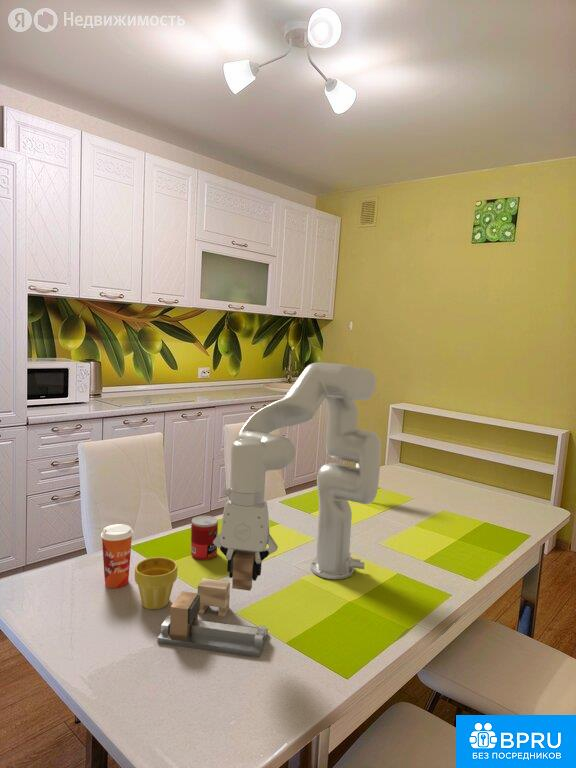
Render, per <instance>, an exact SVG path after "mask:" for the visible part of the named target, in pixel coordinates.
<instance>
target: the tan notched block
mask: <svg viewBox="0 0 576 768" xmlns="http://www.w3.org/2000/svg"><path fill="white" fill-rule="evenodd" d="M230 591H231V580H225V579H217V578H216V579H215V578H210V577H205V578H204V577H203V578H201V580H200V582H199V583H198V585H197V593H198V595H200V611H199V612H198V614H204V613H206V610H207V609H208V608H209V607H215V608H218V616H219V617H226V615H227V613H228V611H229V609H230V599H231V598H230V597H231V596H230V595H231V594H230V593H231V592H230Z"/></svg>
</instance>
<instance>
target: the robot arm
mask: <svg viewBox="0 0 576 768" xmlns="http://www.w3.org/2000/svg"><path fill="white" fill-rule="evenodd" d="M376 389H377V378H376V375H375V374H374V372H373V371H372V370H371V369H368V368H363V367H358V366H353V365H348V364H343V363H332V362H322V361H321V362H313V363H310V364H308V365H306V367H305V368H304V370H303V371H302V372H300V375H299V376H298V378H297V379H296V381H295V382H294V383H293V385H292V386H291V387H290V389H289V390H288V391H287V393H286V394H285V396H284V397H282V398H280V399H279V400H276V401H274V402H272V403H270V404H268V405H266V406H265V407H262V408H261V409H259V410H258V411H256V412H255V413H254V414H252V415H251V416H250V417H249V418H248V419H247V421H246V422H245V423H244V424H243V426H242V428H241V429H240V431H238V434H237V435H236V437H235V440H234V441H233V443H232V445H231V448H230V449H231V450H230V451H231V453H230V480H229V483H230V484H229V488H223V496H226V497H227V498H228V499H227V500H226V501H225V505H224V508H223V514H222V521H221V529H220V532H219V533H218V536H217V537H216V538H215V539H214V541H213V544H214V545H216V546H217V549H219V550H220V551H221V553H222V554H223V555H224V556H225V559H226V560H227V563H226V564H227V567H226V569H227V570H226V572H228V576H229V577H228V578H231V579H233V573H231V556H232V555H233V553H234V552H235V550H242V551H251V552H254V556H255V562H254V564H253V577H252V582H253V581H254V582H256V581H257V580H258V579H257V578H258V577H260V576H261V573H262V563H263V561H264V560H265V559H266V558H267V557H268V556H269V555H272V554H273V553H275V552H277V550H278V547H279V546H278V544H277V543H276V541H275V540H274V538H273V537H272V535H271V533H270V518H269V517H270V516H269V508H268V503H267V501H265V493H266V492H265V489H266V488H265V487H266V485H265V484H266V473H267V472H268V471H277V470H278V471H279V470H282V469H285V468H287V467H289V466H290V465H291V464H292V462H293V460H294V459H295V455H296V447H295V445H294V443H293V442H292V440H290V438H287V437H286V436H282V435H278V434H277V435H276V434H272V433H271V432H273V431H276V430H279V429H282V428H286V427H292V426H296V425H300V424H301V425H302V424H304V423H308V422H309V421H310V420H312V419H313V417H314V416H315V414H316V413H317V411H318V409H319V408H320V406H321V404H323V403H324V401H325V402H326V403H325V404H326V406H327V421H326V422H327V424H326V436H325V453H326V455H328V457H330V458H332V459H335V460H340V461H344V462H348V463H353V464H356V463H358V464H359V468H357V467H356V466H351V465H347V464H341V463H337V462H329V463H325V464H323V465H322V466H321V467H320V468H319V470H317V471H318V472H317V475H316V485H317V493H318V521H317V536H316V537H317V539H316V540H317V541H316V557H315V559H313V560H312V561H311V562H310V570H311V572H313V574H315V575H316V576H318V577H320V578H324V579H327V580H343V579H347V578H349V577H351V576H352V575H353V574H354V571H355V569H359V570H365V562H364V561H361V558H354V557H353V556H352V557H351V554H352V553H351V551H350V549H351V534H352V533H351V532H352V531H351V530H352V508H351V505H350V503H349V502H351V503H357V504H361V505H368V504H369V505H370V504H371V503H373V502H374V500H375V499H376V497H377V494H378V488H379V480H380V473H381V472H380V471H381V462H382V461H381V460H382V450H383V449H382V447H383V446H382V441H381V438H380V436H379V435H378V434H377V433H376V432H374V431H372V430H368V429H361V428H359V427H358V421H359V420H358V419H359V418H358V417H359V409H358V406H357V403H356V401H367V400H370V399H371V398H372V397H373V395H374V394H375V391H376ZM267 546H268V547H267Z"/></svg>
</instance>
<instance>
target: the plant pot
mask: <svg viewBox="0 0 576 768" xmlns="http://www.w3.org/2000/svg"><path fill="white" fill-rule="evenodd" d="M177 578H178V563H177V562H176V561H175V560H174V559H172V558H169V557H164V556H155V557H154V556H153V557H149V558H145V559H142V560H141V561H139V562H137V564H136V565H135V567H134V581H135V584H136V585H137V586H138V591H139V596H140V601H141V605H142V607H143V608H145V609H148V610H159V609H163V608H165V607H166V606H168V605H169V602H170V599H171V594H172V591H173V587H174V584H175V582H176V580H177Z"/></svg>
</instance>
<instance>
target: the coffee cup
mask: <svg viewBox="0 0 576 768" xmlns="http://www.w3.org/2000/svg"><path fill="white" fill-rule="evenodd" d="M134 533H135V532H134V531H133V528H131V526H130V525H128V524H123V523H117V524H116V523H115V524H111V525H108V526H104V528H103V529H102V532H101V534H100V538H101V541H102V543H101V544H102V560H103V561H102V562H103V575H104V584H105V586H106V588H109V589H119V588H123V587H124V586H125V587H126V586H127V585H128V584H129V577H130V568H131V567H130V565H131V549H132V540H133V539H132V538H133V537H132V536H133V535H134Z"/></svg>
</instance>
